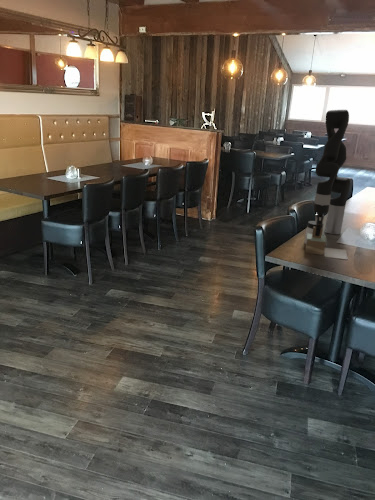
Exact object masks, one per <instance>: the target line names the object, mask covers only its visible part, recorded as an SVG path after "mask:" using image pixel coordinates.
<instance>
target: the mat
mask: <svg viewBox="0 0 375 500" xmlns="http://www.w3.org/2000/svg"><path fill="white" fill-rule="evenodd" d="M324 258H329V259H337V260H343V261H344V260H345V261H348V254H347V251H346V249H341V248H340V249H339V248H334V247H333V248H332V247H325V250H324Z"/></svg>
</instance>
